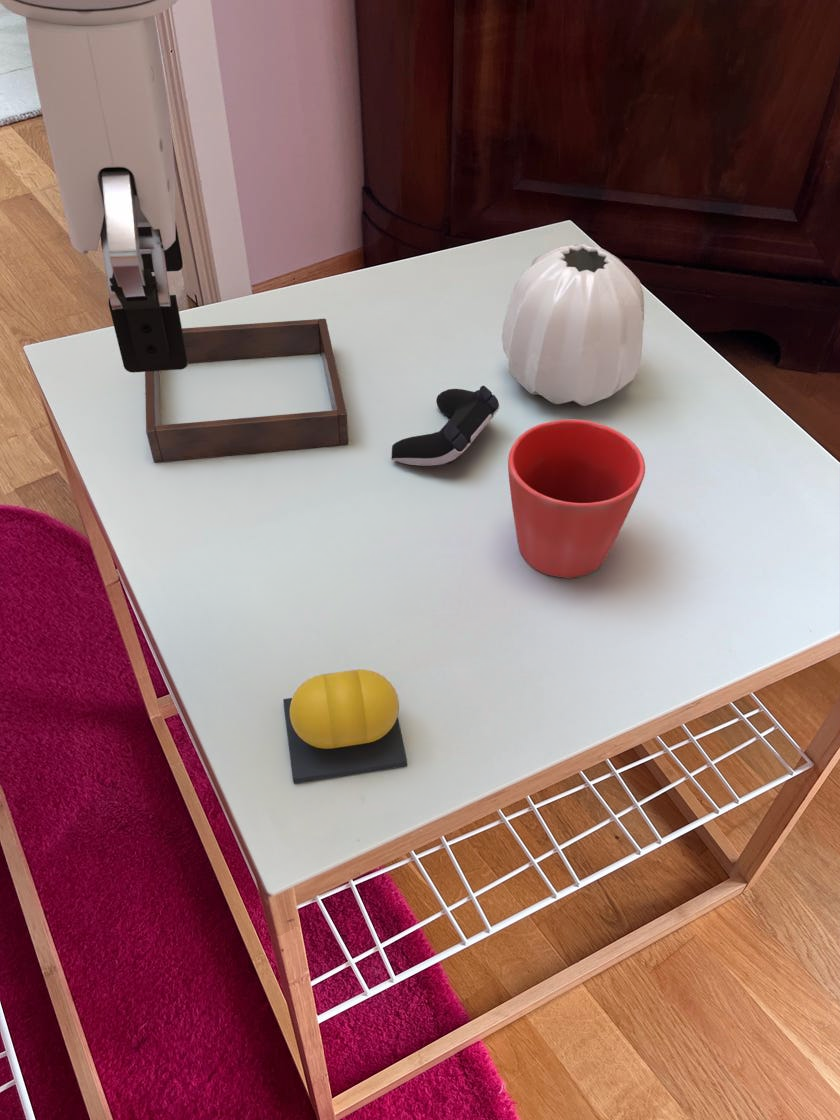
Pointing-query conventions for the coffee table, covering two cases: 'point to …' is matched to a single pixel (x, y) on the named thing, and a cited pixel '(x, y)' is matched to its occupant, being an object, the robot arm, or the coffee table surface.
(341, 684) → the yellow grooved capsule
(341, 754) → the mat
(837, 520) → the coffee table surface
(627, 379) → the vase
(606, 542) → the flower pot
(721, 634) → the coffee table surface
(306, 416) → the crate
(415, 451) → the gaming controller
